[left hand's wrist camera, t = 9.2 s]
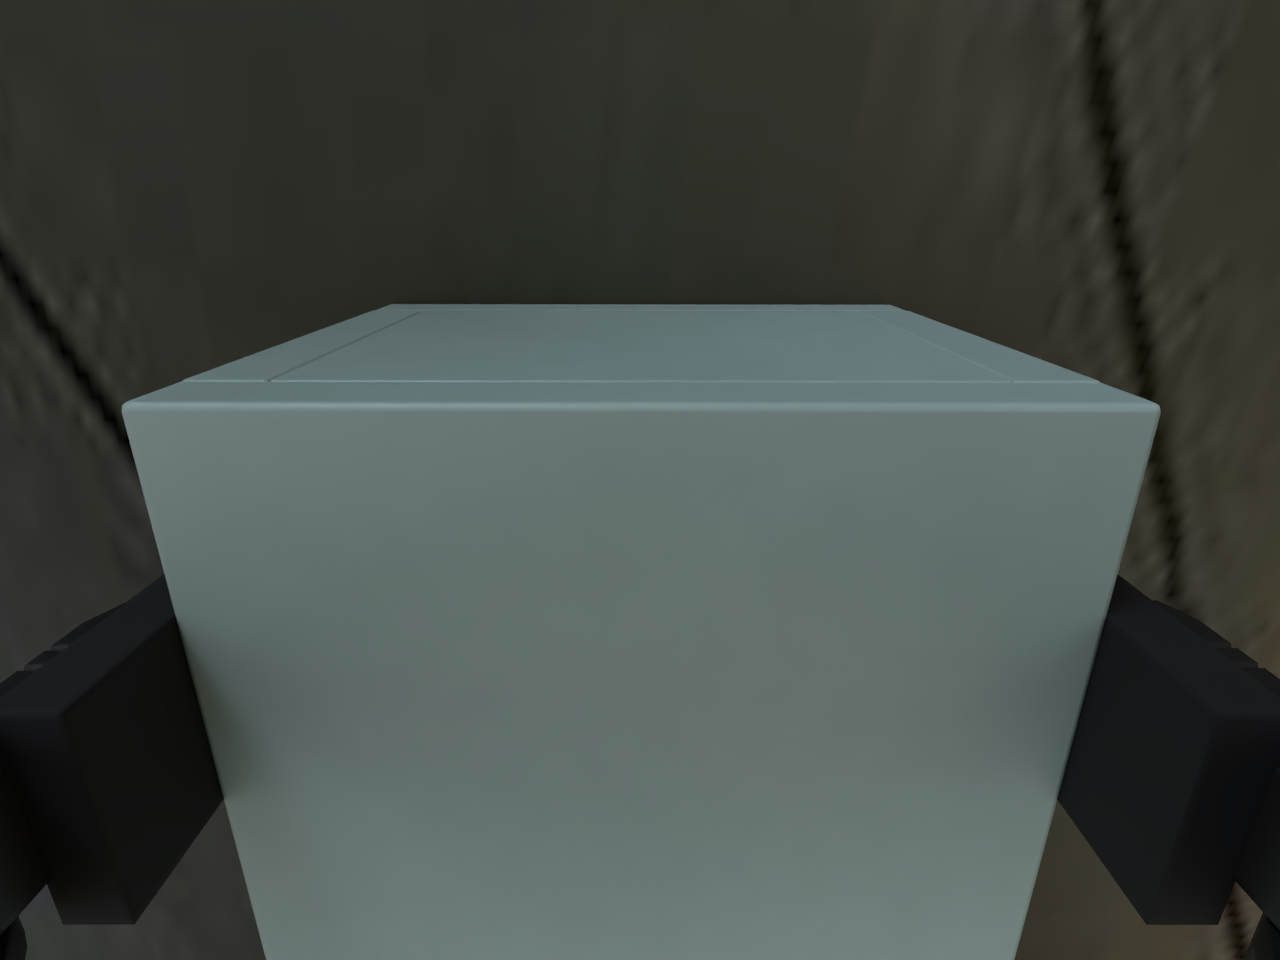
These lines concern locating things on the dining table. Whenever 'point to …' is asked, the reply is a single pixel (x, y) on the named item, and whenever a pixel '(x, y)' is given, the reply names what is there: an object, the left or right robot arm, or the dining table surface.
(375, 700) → the cabinet
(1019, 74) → the dining table surface
